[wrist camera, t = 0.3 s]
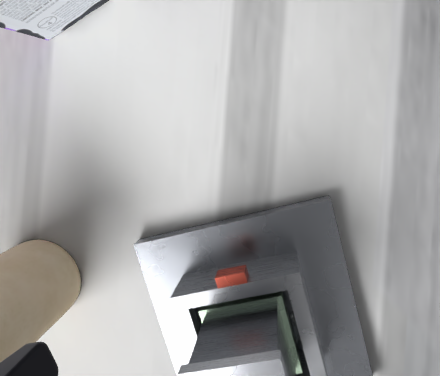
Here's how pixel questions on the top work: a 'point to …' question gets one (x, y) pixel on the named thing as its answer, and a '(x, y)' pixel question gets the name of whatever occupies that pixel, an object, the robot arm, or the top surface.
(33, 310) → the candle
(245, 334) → the column
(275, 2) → the top surface
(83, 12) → the candy box
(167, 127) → the top surface
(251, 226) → the stand base
